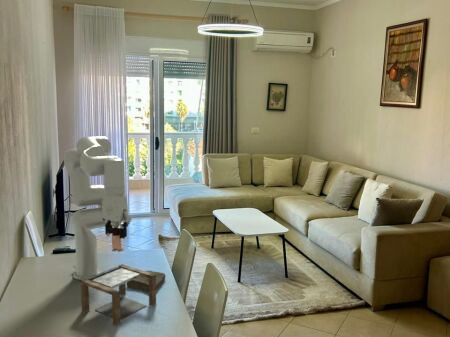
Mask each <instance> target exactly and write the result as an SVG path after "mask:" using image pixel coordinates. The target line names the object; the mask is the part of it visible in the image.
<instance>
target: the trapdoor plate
mask: <svg viewBox="0 0 450 337" xmlns="http://www.w3.org/2000/svg"><path fill="white" fill-rule="evenodd" d="M113 271H114V272H113ZM108 273H109V274H108ZM103 275H104V276H103ZM98 277H99V278H98ZM137 277H140V274H138V273H135V272H132V271H129V270H126V269H122V268H121V269H120V267H118V266H115V267H112V268H109V269H107V270H104V271H101V273H99V274H97V275H94V276H92V277H89V278H88V280H89V281H91V280H92V282H95V283H98V284H101V285H103V286H106V287H109V288H112V289H115V288H117V287H119V286H120V285H122V284H124V283H126V284H127V282H128V281H131V280H133V279H135V278H137ZM93 279H94V280H93Z"/></svg>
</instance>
